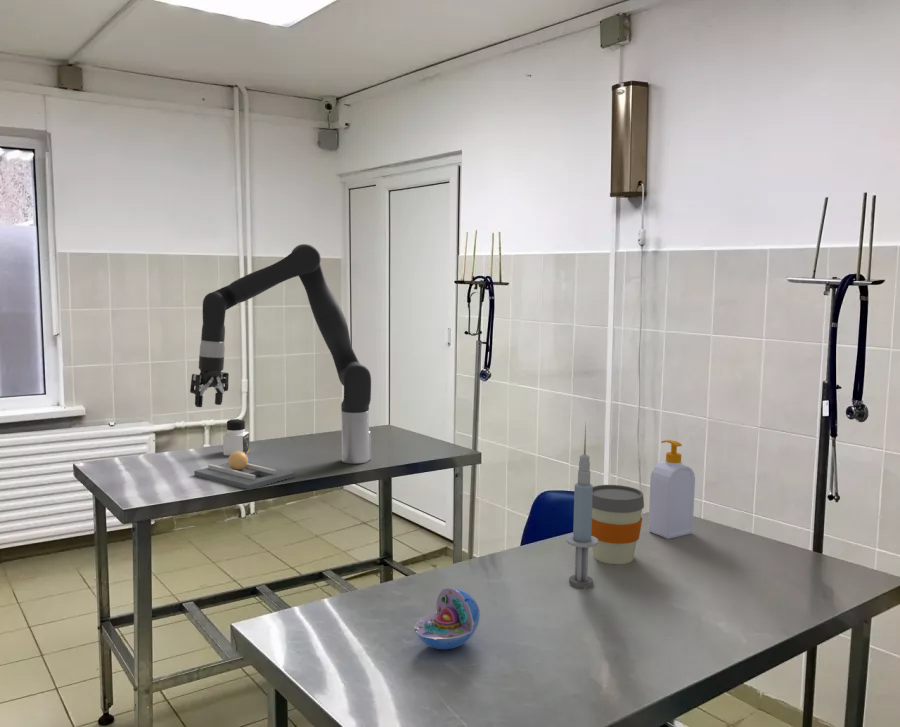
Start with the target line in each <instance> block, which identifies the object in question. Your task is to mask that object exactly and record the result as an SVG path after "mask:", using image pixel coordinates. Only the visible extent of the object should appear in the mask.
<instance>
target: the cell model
mask: <svg viewBox="0 0 900 727" xmlns="http://www.w3.org/2000/svg"><path fill="white" fill-rule="evenodd" d="M435 609H436V612H434V613H430V614H428V615H425V616H424V617H422V618H420V619H419V620H418V621H417V622H416V623H415V624H414V627H413V630H414V632H415V634H416V636H417V638H418V639H419V640H420V641H421V642H422V643H423V644H424V645H426V646H428V647H430V648H432V649H437V650H452V649H455V648H458V647H460V646H463V645H464V644H465V643H467V642H468V641H470V639H471V638H472V637H473V635H474V634H475V633H476V631H477V628H478V626H479V622H480V618H481V612H480V607H479V604H478V602H477V601H476V599H475V598H474V597H473V596H472V595H471V594H470V593H468V591H465V590H463V589H461V588H457V587H445V588H443V589H441V590H440V591H439V593H438V595H437V597H436V603H435Z"/></svg>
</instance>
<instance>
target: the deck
mask: <svg viewBox="0 0 900 727" xmlns="http://www.w3.org/2000/svg"><path fill="white" fill-rule="evenodd" d="M193 473H194V474H193V475H194V477H198V476H199V478H202V477H203V478H202V479H205V478H207V479H206V480H209V479H210V481H213V480H214V481H213V482H216V483H217V482H218V483H220V482H221V484H224V483H226V484H225V485H228V484H230V485H229V486H232V485H233V486H232V487H235V486H238V487H237V488H239V487H242V488H241V489H243V488H246V489H245V490H247V489H248V490H247V491H251V490H254V489H257V487H258V488H261V487H263V486H262V485H265V486H267V485H266V484H269V485H272V484H275V483H274V482H276V483H278V482H277V481H280V482H282V481H281V480H283V481H285V480H284V479H287V480H289V479H288V478H291V477H294V478H296V472H294V471H291V470H286V469H282V468H277V467H274V466H273V467H272V466H269V465H265V464H260V463H255V462H251V461H248V464H247V466H246V467H245V468H244V469H242V470H234V469H232V468H231V467H230V466H229V463H228V462H227V463H222V464H218V465H215V464H212V463H210V464H208V467H204V468H201V469H197V470H194V472H193ZM258 475H261V476H260V477H259V478H257V477H258ZM263 476H264V477H263ZM291 479H292V478H291ZM271 483H272V484H271ZM260 486H261V487H260Z"/></svg>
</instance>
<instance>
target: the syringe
mask: <svg viewBox="0 0 900 727" xmlns="http://www.w3.org/2000/svg"><path fill="white" fill-rule="evenodd" d="M584 423H585V427H584V444H583V454H581V455H579V461H578V470H577V482H576V483H575V484H574V487H573V488H574V489H573V490H574V491H573V492H574V495H573V502H574V503H573V526H572V527H573V528H572V531H573V532H572V534H570V535H568V536H566V537H565V540H566V543H567V544H568V545H570V546H572V547H575V555H574V556H575V558H574V559H575V560H574V561H575V562H574V566H575V567H574V574H573V575H571V576H570V577H569V578H568V579H569V580H568V583H569V585H570V586H571V587H574V588H577V589H579V588H580V589H588V588H591V587H593V585H594V583H593V582H594V580H593V578H592V577H591V576H589V575H588V572H589V570H588V569H589V568H588V567H589V548H592V547H594V546H596V545H597V544H598V539H597V538H596V537H594V536H591V529H592V496H593V487H594V485H593V484H591V470H590V468H591V467H590V466H591V462H590V457H591V456H590V455H588V454H586V452H587V449H586V448H587V447H586V446H587V444H586V441H587V440H586V439H587V438H586V437H587V436H586V435H587V433H586V432H587V429H586V428H587V422H584Z"/></svg>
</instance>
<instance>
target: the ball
mask: <svg viewBox="0 0 900 727" xmlns="http://www.w3.org/2000/svg"><path fill="white" fill-rule="evenodd" d="M248 462H249V458H248V455H247V453H246V454H245V453H244V452H241V451H236V452H233V453H232V454H231V455H228V459H227V463H229V466H230V467H231V468H232V469H234V470H242V469H244V468H245V467H246V466H247V464H248Z"/></svg>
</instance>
